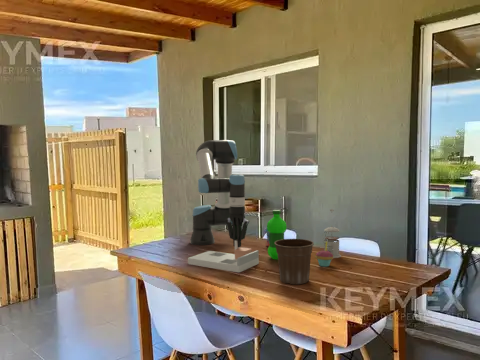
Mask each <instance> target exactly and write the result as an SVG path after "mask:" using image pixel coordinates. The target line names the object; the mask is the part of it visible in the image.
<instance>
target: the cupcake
mask: <svg viewBox="0 0 480 360" xmlns="http://www.w3.org/2000/svg"><path fill="white" fill-rule="evenodd" d="M327 242H328V240H327V241H326V247H325V251H324V249H323V250H319V251H317V252H316V254H315V259H317V262H318V265H319V266H320V267H326V268H327V267H329V266H330V265H331V262H332V261H333V259H334V258H333V254H332V253H331V252H329V251H328V250H327V248H328V247H327V246H328V245H327Z"/></svg>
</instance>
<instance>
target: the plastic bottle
mask: <svg viewBox="0 0 480 360" xmlns="http://www.w3.org/2000/svg"><path fill="white" fill-rule="evenodd" d="M281 212H282V211H281V209H273V210H272V215H273V217H271V218H270V220H268V221H267V224H266V228H267V230H268V232H269V246H268V248H267V254H268V256H269V257H270V258H271V259H272V260H277V261H278V255H277V252H276V245H275V244H274V243H275V241H278V240H282V239H285V232H286V231H287V222H286V221H285V220H284V219H283V218H282V217H281Z"/></svg>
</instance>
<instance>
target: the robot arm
mask: <svg viewBox="0 0 480 360" xmlns="http://www.w3.org/2000/svg"><path fill="white" fill-rule="evenodd" d="M195 156H196V160H197V161H198V167H199V174H200V178H198V180H197V189H198V190H197V192H199V193H200V194H215V193H216V194H217V195H216V196H217V199H216V200H217V202H215V204H214V207H212V205H211V204H205V205H204V204H203V205H198V206H195V207H193V209H192V233H191V236H190V239H189V240H190V241H189V242H190V245H193V246H207V245H213V244H215V237H214V233H213V230H212V229H213V227H214V226H215V227H216V226H219V227H220V226H221V227H222V226H226V227H227V230H228V236H229V238H230V239H231V240H232V241H233V243H232V245H233V247H234V250H235V249H238V248H241V247H242V240H245V239H246V234H247V230H248V226H249V224H250V220H248V219H246V216H245V213H246V209H245V208H246V207H245V205H246V204H245V203H246V200H245V197H246V195H245V194H246V193H245V190H246V189H245V188H246V187H245V186H246V183H245V182H246V180H245V179H246V178H245V175H244V174H233V172H232V171H233V165H234V163H235V161H237V160H238V148H237V145H236V142H235V140H233V139H232V140H229V139H219V140H215V139H214V140H212V139H210V140H206V141H204V142H202V143H201V144H199V146H198V148H197V149H196V153H195ZM213 160H215V164H216V165H217V177H216V174H215V169H214V164H213Z"/></svg>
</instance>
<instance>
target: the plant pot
mask: <svg viewBox="0 0 480 360" xmlns="http://www.w3.org/2000/svg"><path fill="white" fill-rule="evenodd" d="M274 244H275V245H276V252H277V255H278V260H277V261H278V271H279V280H280V282H282V283H285V284H290V285H304V284H307V283H308V282H309V281H310V270H311V258H312V257H311V256H312V253H313V246H314V241H312V240H308V239H304V238H284V239H282V240H278V241H275V243H274Z"/></svg>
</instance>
